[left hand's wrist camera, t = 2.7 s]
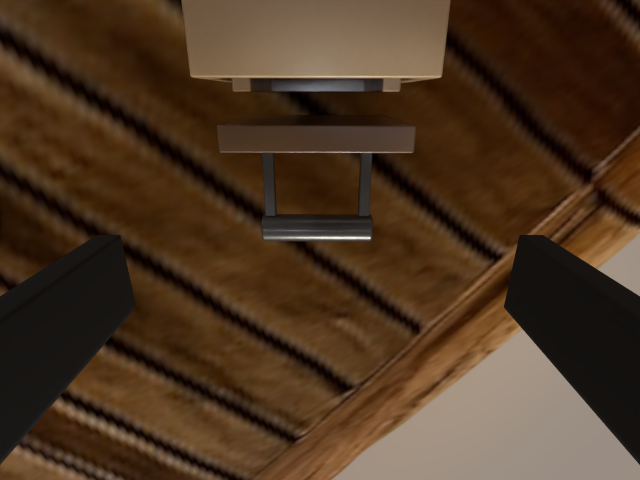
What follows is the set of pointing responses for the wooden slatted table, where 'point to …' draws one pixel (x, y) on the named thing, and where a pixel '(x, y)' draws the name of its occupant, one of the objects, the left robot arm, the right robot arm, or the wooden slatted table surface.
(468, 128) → the wooden slatted table surface
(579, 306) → the left robot arm
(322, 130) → the drawer
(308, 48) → the cabinet
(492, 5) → the wooden slatted table surface
